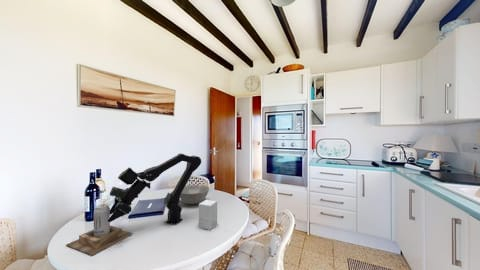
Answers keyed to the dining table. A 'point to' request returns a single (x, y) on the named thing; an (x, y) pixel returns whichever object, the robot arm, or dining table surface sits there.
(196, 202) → the ceramic bowl
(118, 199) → the robot arm
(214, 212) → the supplement box
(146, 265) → the dining table surface
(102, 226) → the energy drink can
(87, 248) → the socket board
